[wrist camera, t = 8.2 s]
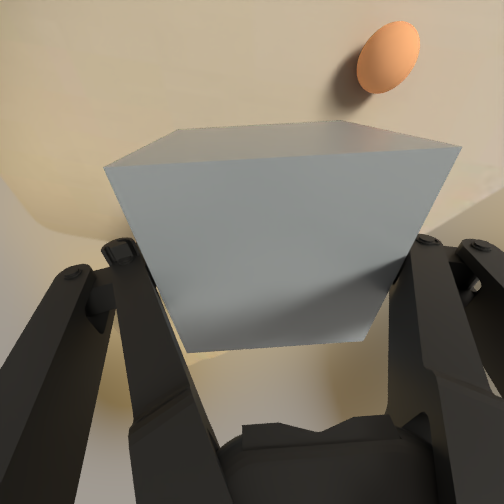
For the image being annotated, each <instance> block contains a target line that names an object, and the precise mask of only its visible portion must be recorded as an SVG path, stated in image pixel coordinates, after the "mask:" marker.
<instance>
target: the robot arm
mask: <svg viewBox="0 0 504 504" xmlns="http://www.w3.org/2000/svg"><path fill="white" fill-rule="evenodd" d="M101 252H102V254H103V255H104V257H105V259H106V261H107V262H108V264H109V266H110V267H108V268H104V269H100V270H96V271H93V270H92V268H91V267H90V266H89V265H86V264H79V265H75V266H71V267H68V268H66V269H65V270H63V271H62V272H61V273H59V274H58V275H57V276H56V277H55V279H54V280H53V282H52V284H51V286H50V287H49V289H48V291H47V292H46V294H45V296H44V297H43V299H42V301H41V302H40V304H39V305H38V307H37V309H36V311H35V312H34V314H33V315H32V317H31V319H30V321H29V322H28V324H27V325H26V327H25V329H24V330H23V332H22V334H21V336H20V337H19V339H18V340H17V342H16V344H15V346H14V347H13V349H12V351H11V352H10V354H9V356H8V357H7V359H6V361H5V362H4V364H3V366H2V367H1V369H0V504H74V502H75V497H76V493H77V488H78V483H79V478H80V474H81V469H82V465H83V460H84V455H85V451H86V446H87V441H88V436H89V432H90V427H91V423H92V418H93V413H94V408H95V404H96V399H97V395H98V390H99V385H100V380H101V376H102V371H103V367H104V362H105V357H106V353H107V348H108V343H109V338H110V334H111V329H112V325H113V320H114V315H115V311H116V309H117V315H118V322H119V328H120V334H121V340H122V346H123V353H124V359H125V365H126V371H127V378H128V384H129V391H130V396H131V403H132V409H133V417H134V420H133V424H132V426H131V427H130V429H129V435H128V439H129V451H130V459H131V467H132V474H133V482H134V490H135V497H136V504H504V252H503V251H501V250H500V249H499V248H497V247H496V246H494V245H492V244H490V243H489V242H486V241H483V240H476V239H465V240H462V242H461V243H460V245H459V246H458V247H449V246H443V244H442V243H441V242H440V241H439V240H438V239H436V238H434V237H432V236H429V235H425V234H418V235H417V237H416V239H415V241H414V243H413V245H412V246H411V248H410V250H409V252H408V254H407V256H406V258H405V260H404V262H403V264H402V266H401V268H400V270H399V272H398V274H397V276H396V278H395V280H394V282H393V284H392V286H391V288H390V290H389V351H388V404H387V409H386V412H385V415H374V416H361V417H353V418H350V419H348V420H346V421H344V422H342V423H340V424H337V425H335V426H333V427H331V428H329V429H326V430H324V431H322V432H314V431H310V430H306V429H302V428H298V427H293V426H290V425H286V424H282V423H267V424H252V425H242V435H239V436H237V437H235V438H233V439H232V440H230V441H229V442H227V443H226V444H224V445H223V446H222V447H221V448H220V446H219V444H218V441H217V439H216V436H215V434H214V431H213V429H212V427H211V424H210V422H209V420H208V418H207V415H206V413H205V410H204V408H203V405H202V403H201V400H200V397H199V395H198V392H197V390H196V387H195V385H194V382H193V380H192V377H191V375H190V372H189V370H188V367H187V365H186V362H185V360H184V357H183V355H182V352H181V349H180V347H179V344H178V342H177V339H176V337H175V334H174V332H173V329H172V327H171V324H170V322H169V319H168V317H167V314H166V312H165V309H164V307H163V304H162V302H161V299H160V297H159V294H158V292H157V289H156V286H157V285H156V283H155V281H154V279H153V277H152V274H151V272H150V270H149V268H148V266H147V263H146V261H145V259H144V257H143V254H142V252H141V250H140V248H139V246H138V243H137V242H136V244H135V242H134V240H133V239H132V238H119V239H115V240H113V241H110V242H108V243H107V244H105V245H104V246H103V247H102V249H101ZM479 280H480V282H481V288H480V289H479V290H478V291H476V290H475V289H474V285H475V284H476V283H477V282H478V281H479ZM483 367H484V368H485V370H486V372H487V373H488V375H489V376H490V378H491V380H492V381H493V383H494V385H495V387H496V388H497V390H498V392H499V393H500V395H501V396H502V398H501V397H498V396H496V395H494V394H493V393H492V390H491V389H490V386H489V383H488V380H487V377H486V374H485V371H484V368H483Z"/></svg>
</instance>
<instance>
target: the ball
mask: <svg viewBox="0 0 504 504" xmlns="http://www.w3.org/2000/svg"><path fill="white" fill-rule="evenodd" d="M419 49H420V39H419V35H418V32H417V30H416V29H415V28H414V26H412V25H411V24H409V23H407V22H404V21H397V22H392V23H389V24H387V25H385V26H383V27H382V28H380V29H379V30H377V31H376V32H375V33H374V34H373V35H372V36H371V37H370V38H369V40H368V41H367V42H366V44H365V45H364V47H363V49H362V51H361V53H360V56H359V59H358V63H357V78H358V81H359V83H360V85H361V86H362V88H363V89H364V90H366V91H368V92H370V93H377V94H378V93H384V92H387V91H389V90H391V89H393V88H395V87H396V86H397V85H399V84H400V83H401V82H402V81H403V80H404V79H405V78H406V77H407V76H408V74H409V73H410V72H411V70H412V69H413V67H414V65H415V63H416V60H417V58H418V54H419Z"/></svg>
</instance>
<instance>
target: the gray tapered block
mask: <svg viewBox="0 0 504 504" xmlns="http://www.w3.org/2000/svg"><path fill="white" fill-rule="evenodd" d="M461 149H462V147H461V146H457V145H452V144H447V143H443V142H438V141H434V140H429V139H424V138H420V137H415V136H411V135H406V134H401V133H397V132H392V131H388V130H383V129H378V128H374V127H369V126H365V125H360V124H355V123H351V122H346V121H342V120H340V121H322V122H303V123H285V124H267V125H249V126H231V127H213V128H195V129H178V130H176V131H174V132H172V133H170V134H168V135H166V136H164V137H162V138H160V139H158V140H156V141H154V142H152V143H150V144H148V145H146V146H144V147H142V148H140V149H139V150H137V151H135V152H133V153H131V154H129V155H127V156H125V157H123V158H121V159H119V160H117V161H115V162H113V163H111V164H109V165H107V166H105V167H103V168H104V170H105V173H106V175H107V177H108V179H109V182H110V184H111V186H112V188H113V190H114V193H115V195H116V197H117V199H118V201H119V204H120V206H121V208H122V210H123V212H124V215H125V217H126V219H127V221H128V224H129V226H130V228H131V230H132V232H133V235H134V237H135V239H136V241H137V243H138V246H139V248H140V250H141V252H142V254H143V257H144V259H145V261H146V263H147V266H148V268H149V270H150V272H151V274H152V277H153V279H154V281H155V283H156V285H157V288H158V290H159V292H160V294H161V297H162V299H163V301H164V303H165V305H166V308H167V310H168V312H169V314H170V316H171V319H172V321H173V323H174V325H175V327H176V330H177V332H178V334H179V336H180V339H181V341H182V343H183V345H184V347H185V350H186V352H187V353H196V352H211V351H225V350H239V349H254V348H268V347H283V346H296V345H312V344H326V343H341V342H355V341H363V340H364V338H365V337H366V335H367V332H368V331H369V329H370V326H371V325H372V323H373V321H374V319H375V317H376V315H377V313H378V311H379V309H380V307H381V305H382V303H383V301H384V299H385V297H386V295H387V293H388V292H389V290H390V288H391V286H392V284H393V282H394V280H395V278H396V276H397V274H398V272H399V270H400V268H401V266H402V264H403V262H404V260H405V258H406V256H407V254H408V252H409V250H410V248H411V246H412V245H413V243H414V241H415V239H416V237H417V235H418V233H419V231H420V229H421V227H422V225H423V223H424V221H425V219H426V217H427V215H428V213H429V211H430V209H431V207H432V205H433V203H434V201H435V200H436V198H437V196H438V194H439V192H440V190H441V188H442V186H443V184H444V182H445V180H446V178H447V176H448V174H449V172H450V170H451V168H452V166H453V164H454V162H455V160H456V158H457V156H458V154H459V153H460V151H461Z"/></svg>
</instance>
